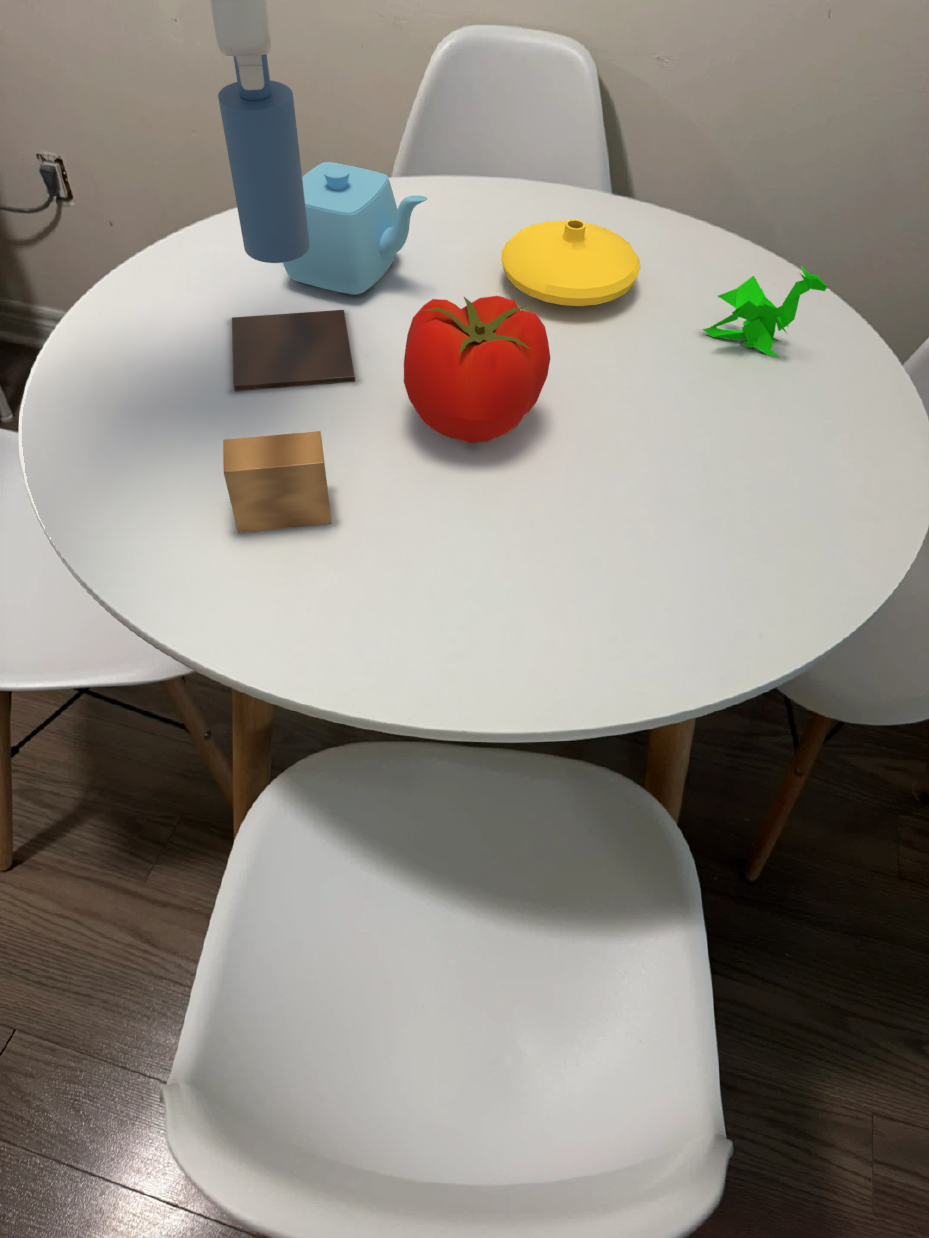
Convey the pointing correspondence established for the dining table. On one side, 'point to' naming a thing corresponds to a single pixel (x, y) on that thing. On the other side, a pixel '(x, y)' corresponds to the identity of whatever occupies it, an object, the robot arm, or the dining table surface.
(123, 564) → the dining table surface
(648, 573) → the dining table surface
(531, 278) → the vase
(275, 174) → the bottle
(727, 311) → the dining table surface
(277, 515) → the prop block
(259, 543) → the dining table surface
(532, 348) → the tomato
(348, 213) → the teapot
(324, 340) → the coaster
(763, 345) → the figurine
